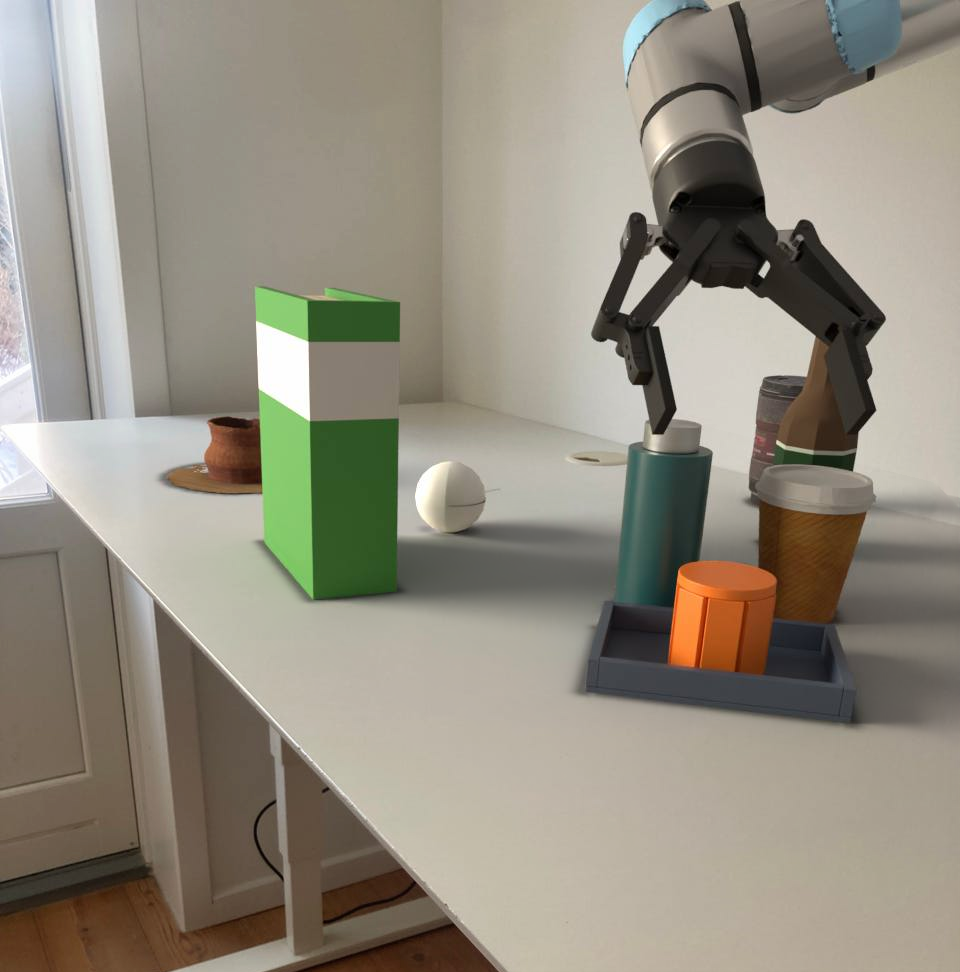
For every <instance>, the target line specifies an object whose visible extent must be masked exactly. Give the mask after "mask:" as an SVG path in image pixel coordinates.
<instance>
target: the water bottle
mask: <svg viewBox="0 0 960 972" xmlns="http://www.w3.org/2000/svg"><path fill="white" fill-rule="evenodd" d="M702 428H703V426H702V424H701V423H698V422H696V421H691V420H686V419H680V418H679V419H677V418H672V420H671V422H670V423H669V425H668V427H667V429H666V431H665V433H664V435H652V431H651V426H650V421H649V419H647V420H645V421H644V428H643V438H642V441H636V442H633V443H630V444H629V445H628V449H627V451H628V452H627V460H626V461H627V462H626V471H625V482H624V491H623V492H624V494H623V505H622V513H621V523H620V525H621V526H620V535H619V545H618V556H617V567H616V568H617V569H616V576H615V577H616V578H615V588H614V598H613V601H614V602H623V603H633V604H642V605H652V606H662V607H671V608H674V604H675V596H676V587H677V578H678V571H679V569H680V567H681V566H683V565H685V564H688V563H692V562H697V561H701V552H702V543H703V535H704V528H705V520H706V512H707V503H708V497H709V496H708V495H709V488H710V479H711V472H712V463H713V455H714V452H713V450H712V449H710V448H708V447H705V446H702V445H701V438H702V437H701V436H702Z"/></svg>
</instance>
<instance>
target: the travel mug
mask: <svg viewBox="0 0 960 972" xmlns="http://www.w3.org/2000/svg"><path fill="white" fill-rule="evenodd" d="M806 378H807V376H803V375H786V374H785V375H784V374H783V375H769V376H765V377H762V381H761V386H759V390H758V396H757V397H758V398H757V405H756V413H755V425H756V426H755V430H754V431H755V432H754V433H755V435H754V440H753V446H752V452H751V458H750V463H749V472H748V490H749V491H750V504H751V505H753V506H755V507H758V508H759V498H758V496H757V493H758V491H757V490H756V488H755V485H756V483H757V482H759V481H760V479H761V476H762V474H763V471H764V469H765V468H767V467H770V466H773V461H774V455H775V448H776V441H777V436H778V432H779V427H780V423H781V420H782V419H783V417H784V415H785V413H786V411H787V409H788V407H789V406H790V405H791V404H792V402H793V401H794V400H795V399H796V398H797V397H798V395H799V394H800V393H801V392H802V389H803V386H804V383H805V380H806Z"/></svg>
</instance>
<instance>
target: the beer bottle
mask: <svg viewBox="0 0 960 972" xmlns="http://www.w3.org/2000/svg"><path fill="white" fill-rule="evenodd" d="M841 329H842V328H841V327H840V326H839V327H838V330H839V332H840V330H841ZM828 349H829V346H827V345H826V344H825V343H824V342H822V341H821V340H820V339H819V338H817V337H816V336H815V337H814V342H813V347H812V351H811V355H810V360H809V364H808V370H807V375H806V377H807V378H806V380H805V383H804V386H803V389H802V392H801V393H800V394H799V395H798V397H797V398H796V399H795V400H794V401H793V402H792V404H791V405H790V406H789V407H788V409H787V411H786V413H785V415H784V417H783V419H782V420H781V423H780V427H779V432H778V436H777V441H776V448H775V455H774V461H773V466H776V465H793V464H797V465H815V466H824V467H832V468H838V469H843V470H848V471H852V472H854V470H855V469H854V468H855V464H856V457H857V451H858V444H859V435H860V431H859V432H858V433H857V435H846V432H845V429H844V425H843V422H842V419H841V415H840V412H839V408H838V405H837V401H836V398H835V394H834V391H833V387H832V384H831V381H830V377H829V374H828V370H827V367H826V363H825V360H824V354H825V353H826V351H827V350H828Z"/></svg>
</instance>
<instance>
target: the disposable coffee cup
mask: <svg viewBox="0 0 960 972" xmlns="http://www.w3.org/2000/svg"><path fill="white" fill-rule="evenodd" d="M755 488H756V490H757V491H758V493H757V496H758V498H759V507H758V513H759V514H758V553H757V554H758V556H757V557H758V558H757V559H758V561H757V567H758V568H760V569H763V570H765V571H767V572H769V573H771V574H772V575H774V576H775V577H776V579H777V585H776V591H775V592H776V601H775V608H774V614H773V618H777V619H786V620H796V621H805V622H815V623H823V624H829V623H830V622H831V621H833V620H834V617H835V613H836V610H837V607H838V605H839V601H840V598H841V595H842V592H843V588H844V585H845V583H846V580H847V576H848V573H849V571H850V567H851V564H852V560H853V557H854V555H855V551H856V548H857V545H858V542H859V539H860V537H861V533H862V529H863V526H864V523H865V521H866V517H867V513H868V511H870V510H871V508H872V506H873V504H874V503H875V502H876V501H877V496H876V494H875V493H874V482H873V479H872V478H870V477H869V476H867V475H866V474H862V473H860V472H856V471H853V472H852V471H848V470H843V469H838V468H832V467H824V466H815V465H797V464H793V465H776V466H770V467H767V468H765V469H764V471H763V474H762V476H761V479H760V481H759V482H757V483H756V485H755Z"/></svg>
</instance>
